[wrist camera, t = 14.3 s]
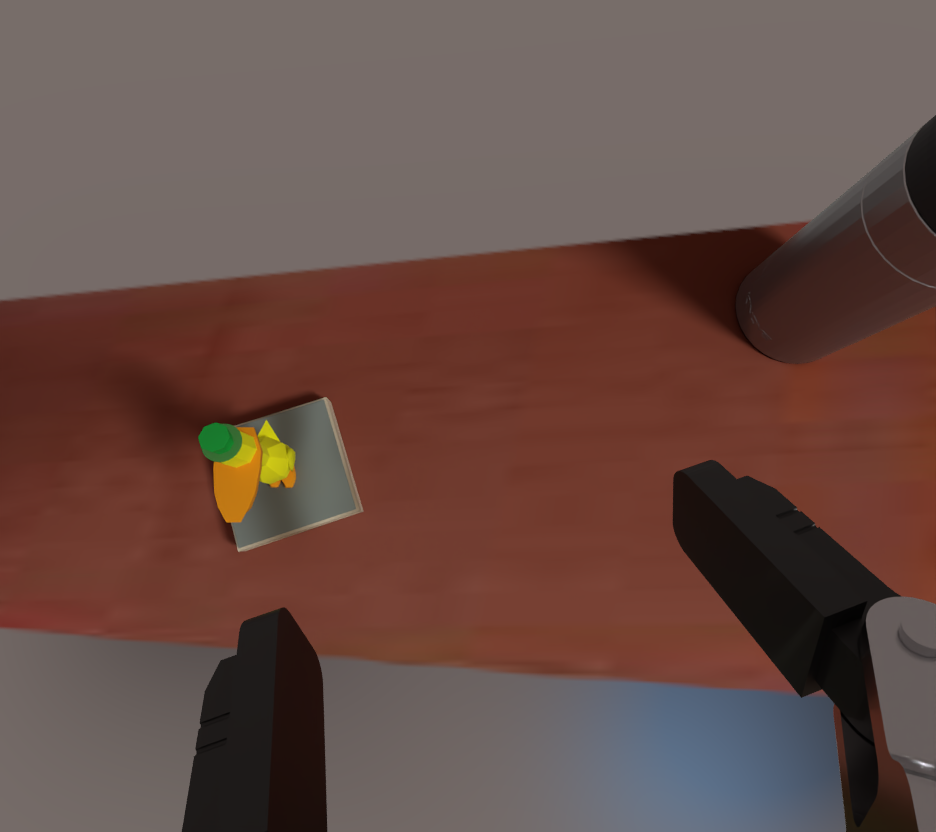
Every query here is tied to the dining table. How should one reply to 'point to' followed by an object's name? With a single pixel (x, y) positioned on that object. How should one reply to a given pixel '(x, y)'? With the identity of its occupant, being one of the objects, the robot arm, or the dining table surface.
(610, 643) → the dining table surface
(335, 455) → the stand
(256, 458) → the toy figure
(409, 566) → the dining table surface
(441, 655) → the dining table surface
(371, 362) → the dining table surface
